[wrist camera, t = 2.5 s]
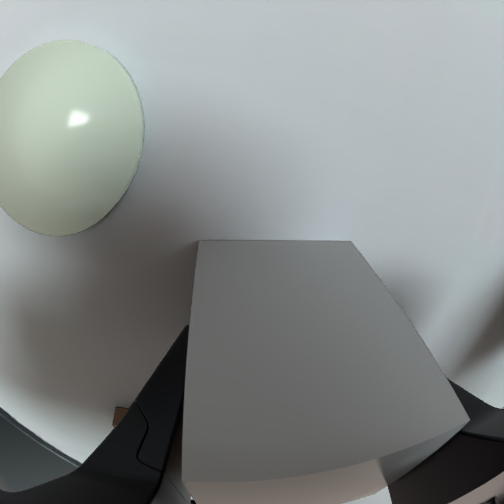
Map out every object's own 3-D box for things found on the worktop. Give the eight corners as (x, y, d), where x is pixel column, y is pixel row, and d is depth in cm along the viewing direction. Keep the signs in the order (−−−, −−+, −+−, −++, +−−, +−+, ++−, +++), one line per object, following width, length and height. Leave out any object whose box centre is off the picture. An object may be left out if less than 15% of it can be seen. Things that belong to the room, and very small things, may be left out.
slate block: (351, 241, 10) (469, 420, 4) (323, 344, 12) (373, 493, 6) (198, 240, 9) (181, 481, 3) (205, 349, 11) (208, 519, 5)
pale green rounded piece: (151, 28, 6) (142, 20, 5) (152, 220, 9) (145, 234, 8) (-4, 71, 5) (-21, 72, 4) (11, 225, 8) (-2, 238, 7)
